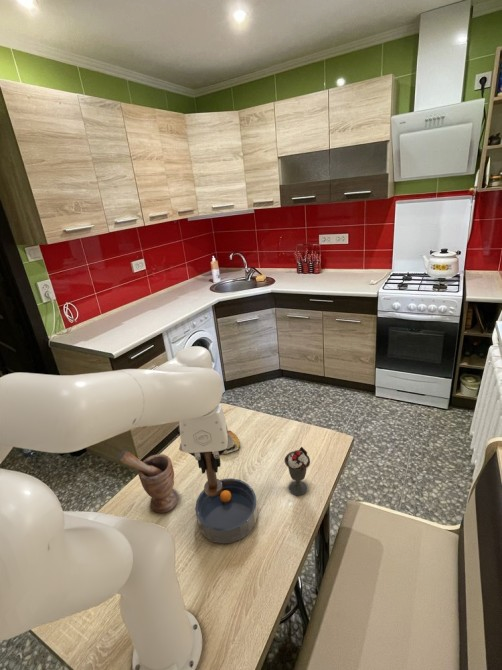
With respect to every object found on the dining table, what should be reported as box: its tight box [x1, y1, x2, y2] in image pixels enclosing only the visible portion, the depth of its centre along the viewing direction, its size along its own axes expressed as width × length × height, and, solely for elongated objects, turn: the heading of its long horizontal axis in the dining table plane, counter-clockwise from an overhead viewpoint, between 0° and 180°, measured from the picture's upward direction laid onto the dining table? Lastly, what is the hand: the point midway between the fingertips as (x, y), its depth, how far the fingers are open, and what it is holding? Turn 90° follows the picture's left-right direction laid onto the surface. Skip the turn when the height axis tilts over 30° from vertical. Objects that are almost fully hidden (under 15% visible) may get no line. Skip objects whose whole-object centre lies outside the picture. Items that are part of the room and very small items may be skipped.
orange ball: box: [220, 490, 231, 503], centre depth 92 cm, size 3×3×3 cm
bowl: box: [194, 478, 259, 544], centre depth 87 cm, size 15×15×5 cm
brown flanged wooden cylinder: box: [203, 451, 223, 496], centre depth 81 cm, size 4×4×12 cm
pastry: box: [222, 429, 241, 455], centre depth 112 cm, size 9×7×4 cm
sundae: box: [284, 446, 311, 496], centre depth 91 cm, size 7×7×15 cm
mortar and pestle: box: [117, 450, 179, 514], centre depth 89 cm, size 12×9×20 cm
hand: (210, 468), depth 81 cm, fingers closed on brown flanged wooden cylinder, 2 cm apart
